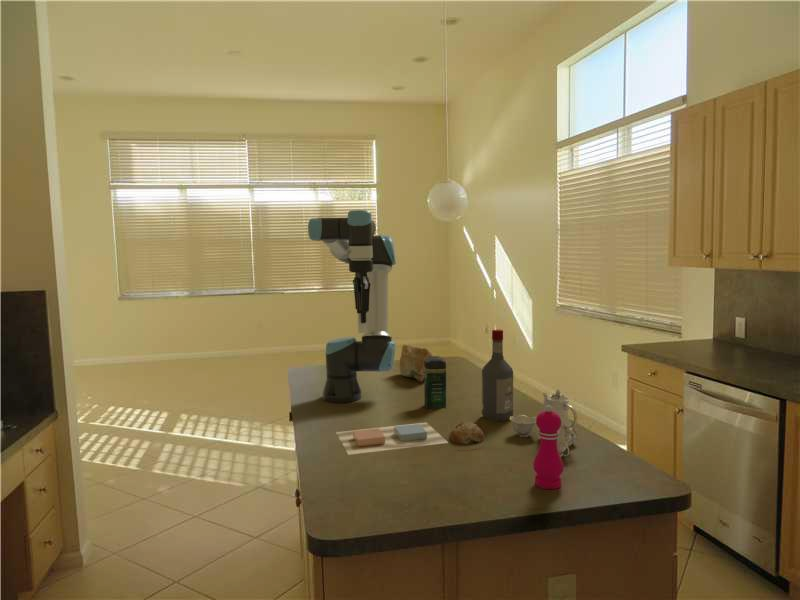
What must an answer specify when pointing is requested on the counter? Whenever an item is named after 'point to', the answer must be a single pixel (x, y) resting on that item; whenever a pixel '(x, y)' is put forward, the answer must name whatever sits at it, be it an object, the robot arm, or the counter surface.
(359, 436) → the pink square tile
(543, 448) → the pepper mill
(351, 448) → the board
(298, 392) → the counter surface
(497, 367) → the liquor
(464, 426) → the bread roll
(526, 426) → the chinaware
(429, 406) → the coffee jar
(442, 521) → the counter surface
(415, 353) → the rough brown rock
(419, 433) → the tile blue
